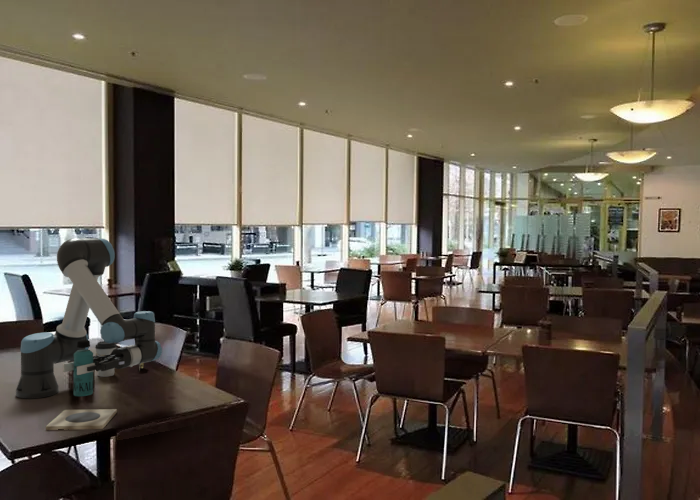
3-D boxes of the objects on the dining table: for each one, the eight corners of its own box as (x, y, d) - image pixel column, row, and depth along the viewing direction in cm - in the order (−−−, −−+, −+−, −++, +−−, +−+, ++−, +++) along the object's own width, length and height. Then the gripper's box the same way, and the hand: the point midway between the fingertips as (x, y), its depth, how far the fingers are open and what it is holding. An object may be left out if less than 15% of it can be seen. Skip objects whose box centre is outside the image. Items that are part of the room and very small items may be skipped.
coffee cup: (109, 377, 270) (109, 344, 270) (90, 376, 272) (90, 342, 271) (120, 373, 279) (120, 340, 278) (102, 371, 281) (102, 339, 280)
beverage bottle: (76, 395, 215) (76, 338, 214) (96, 395, 215) (96, 338, 214) (70, 401, 208) (69, 342, 207) (90, 400, 209) (90, 342, 208)
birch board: (45, 429, 202) (45, 426, 202) (64, 413, 220) (64, 409, 220) (102, 429, 204) (102, 425, 204) (116, 412, 222) (116, 408, 222)
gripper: (144, 370, 223) (90, 384, 202) (107, 364, 232) (51, 376, 212) (144, 349, 222) (89, 361, 202) (107, 344, 232) (51, 355, 211)
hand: (70, 369), depth 207 cm, fingers closed on beverage bottle, 6 cm apart
